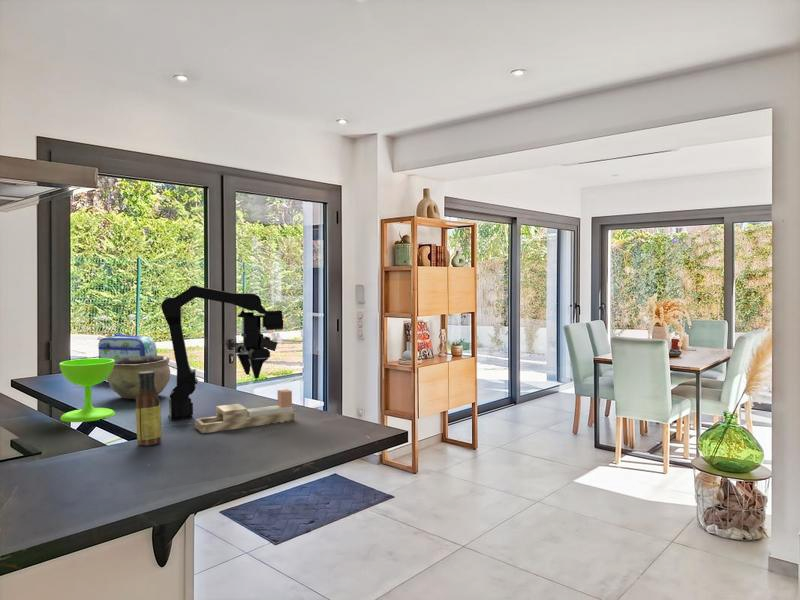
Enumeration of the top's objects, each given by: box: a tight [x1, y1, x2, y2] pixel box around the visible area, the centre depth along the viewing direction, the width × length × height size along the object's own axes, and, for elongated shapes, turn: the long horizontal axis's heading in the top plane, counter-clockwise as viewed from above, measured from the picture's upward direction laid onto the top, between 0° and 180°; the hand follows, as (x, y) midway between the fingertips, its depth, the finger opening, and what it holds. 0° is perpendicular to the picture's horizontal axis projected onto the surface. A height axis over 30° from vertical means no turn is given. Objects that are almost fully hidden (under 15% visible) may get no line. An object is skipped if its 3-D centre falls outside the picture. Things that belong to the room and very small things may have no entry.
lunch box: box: [97, 333, 158, 381], centre depth 249 cm, size 26×11×21 cm, turn 69°
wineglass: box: [58, 357, 116, 423], centre depth 188 cm, size 16×16×18 cm
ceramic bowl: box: [107, 354, 171, 400], centre depth 217 cm, size 22×22×15 cm
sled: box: [247, 389, 293, 418], centre depth 184 cm, size 14×4×8 cm, turn 123°
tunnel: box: [194, 403, 295, 434], centre depth 180 cm, size 29×8×6 cm, turn 123°
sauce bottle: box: [135, 371, 163, 447], centre depth 157 cm, size 7×6×20 cm
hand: (252, 376), depth 194 cm, fingers open, 9 cm apart
